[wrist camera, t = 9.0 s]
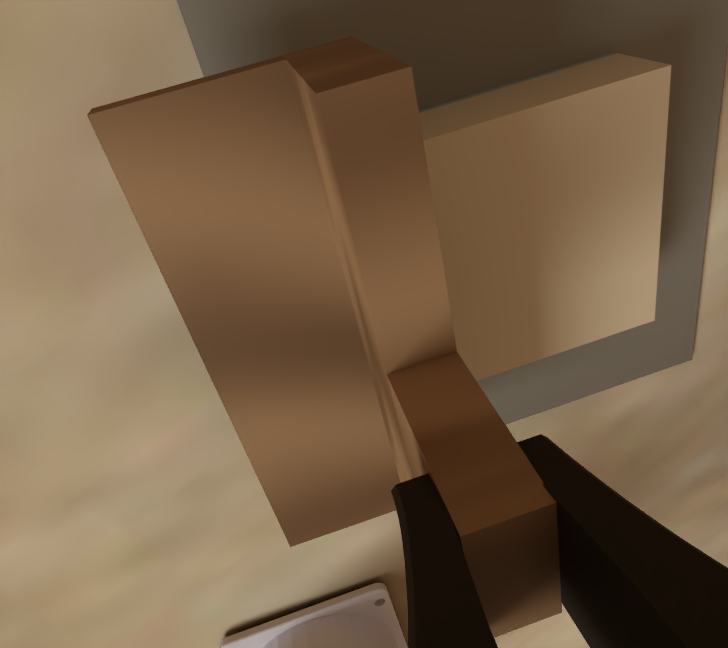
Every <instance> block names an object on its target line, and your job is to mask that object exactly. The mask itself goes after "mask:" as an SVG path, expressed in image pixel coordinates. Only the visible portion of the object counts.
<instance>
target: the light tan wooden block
mask: <svg viewBox="0 0 728 648" xmlns="http://www.w3.org/2000/svg"><path fill="white" fill-rule="evenodd" d="M670 79H671V65H669V64H665V63H660V62H656V61H651V60H647V59H642V58H638V57H633V56H629V55H624V54H620V53H615V52H613V53H610V54H606V55H603V56H600V57H596V58H593V59H590V60H586V61H583V62H580V63H576V64H573V65H570V66H566V67H563V68H560V69H556V70H553V71H550V72H546V73H543V74H540V75H536V76H533V77H530V78H527V79H523V80H520V81H517V82H513V83H510V84H507V85H503V86H500V87H497V88H493V89H490V90H487V91H483V92H480V93H477V94H473V95H470V96H467V97H463V98H460V99H457V100H453V101H450V102H447V103H443V104H440V105H437V106H433V107H430V108H427V109H424V110H420V111H419V117H420V123H421V129H422V136H423V142H424V148H425V154H426V161H427V167H428V173H429V179H430V186H431V192H432V198H433V204H434V211H435V217H436V223H437V229H438V236H439V242H440V248H441V254H442V261H443V267H444V273H445V279H446V286H447V292H448V298H449V304H450V311H451V317H452V323H453V329H454V336H455V342H456V348H457V352H458V354H459V355H460V357H461V358H462V360H463V361H464V363H465V364H466V366H467V368H468V369H469V371H470V372H471V374H472V375H473V377H474V378H475V380H476V381H478V380H481V379H484V378H487V377H490V376H493V375H496V374H499V373H502V372H505V371H508V370H511V369H514V368H516V367H519V366H522V365H525V364H528V363H531V362H534V361H537V360H540V359H543V358H546V357H549V356H552V355H555V354H558V353H561V352H563V351H566V350H569V349H572V348H575V347H578V346H581V345H584V344H587V343H590V342H593V341H596V340H599V339H602V338H605V337H608V336H611V335H613V334H616V333H619V332H622V331H625V330H628V329H631V328H634V327H637V326H640V325H643V324H646V323H649V322H652V321H655V307H656V292H657V276H658V261H659V246H660V231H661V216H662V200H663V185H664V170H665V155H666V140H667V125H668V109H669V94H670Z"/></svg>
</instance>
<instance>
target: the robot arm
mask: <svg viewBox="0 0 728 648" xmlns="http://www.w3.org/2000/svg"><path fill="white" fill-rule="evenodd" d="M517 443H518V445H519V446H520V448H521V449H522V451H523V452H524V454H525V455H526V457H527V458H528V460H529V461H530V463H531V465H532V466H533V468H534V469H535V471H536V472H537V474H538V475H539V477H540V478H541V480H542V481H543V483H544V484H542V485H543V486H544V487H545V488H546V490H547V491H548V492H549V493H550V495H551V496H552V497H553V498H554V500H555V501H556V502H557V523H558V543H559V563H560V584H561V602H562V604H563V605H564V607H565V609H566V610H567V612H568V613H569V615H570V616H571V618H572V620H573V621H574V623H575V624H576V626H577V628H578V629H579V631H580V632H581V634H582V636H583V637H584V639H585V640H586V642H587V643H588V645H589V647H590V648H728V568H727V567H725V566H724V565H722V564H721V563H719V562H717V561H716V560H714V559H713V558H711V557H710V556H708V555H706V554H705V553H703V552H702V551H700V550H699V549H697V548H696V547H694V546H693V545H691V544H689V543H688V542H686V541H685V540H683V539H682V538H680V537H679V536H677V535H676V534H674V533H673V532H671V531H670V530H668V529H667V528H666V527H664V526H663V525H661V524H660V523H658V522H657V521H656V520H654V519H653V518H651V517H650V516H648V515H647V514H646V513H644V512H643V511H641V510H640V509H639V508H637V507H636V506H634V505H633V504H632V503H630V502H629V501H627V500H626V499H625V498H623V497H622V496H621V495H619V494H618V493H617V492H615V491H614V490H612V489H611V488H610V487H609V486H607V485H606V484H605V483H603V482H602V481H601V480H599V479H598V478H597V477H595V476H594V475H593V474H592V473H590V472H589V471H588V470H586V469H585V468H584V467H583V466H581V465H580V464H579V463H578V462H576V461H575V460H574V459H573V458H571V457H570V456H569V455H568V454H566V453H565V452H564V451H563V450H562V449H560V448H559V447H558V446H557V445H556V444H554V443H553V442H552V441H551V440H550V439H548V438H547V437H545V436H543V435H541V434H540V435H537V436H535V437H532V438H529V439H526V440H523V441H520V442H517ZM391 493H392V496H393V500H394V503H395V507H396V510H397V514H398V518H399V523H400V528H401V534H402V542H403V550H404V558H405V570H406V585H407V600H408V647H407V644H406V641H405V638H404V635H403V633H402V630H401V627H400V624H399V621H398V619H397V616H396V613H395V610H394V607H393V605H392V602H391V599H390V596H389V593H388V591H387V588H386V586H385V584H382V583H374V584H371V585H368V586H366V587H363V588H360V589H357V590H355V591H352V592H349V593H346V594H344V595H341V596H338V597H335V598H332V599H330V600H327V601H324V602H321V603H319V604H316V605H313V606H310V607H308V608H305V609H302V610H299V611H297V612H294V613H291V614H288V615H286V616H283V617H280V618H277V619H275V620H272V621H269V622H266V623H264V624H261V625H258V626H255V627H253V628H250V629H247V630H244V631H242V632H239V633H236V634H233V635H231V636H228V637H226V638H224V639H222V640H221V641H220V643H219V648H498V647H497V644H496V642H495V639H494V637H493V634H492V632H491V629H490V627H489V624H488V621H487V618H486V616H485V613H484V610H483V607H482V604H481V601H480V599H479V596H478V593H477V590H476V587H475V584H474V582H473V579H472V576H471V573H470V570H469V567H468V564H467V562H466V559H465V556H464V553H463V550H462V547H461V545H460V542H459V539H458V536H457V533H456V530H455V528H454V525H453V522H452V519H451V516H450V514H449V512H448V510H447V508H446V506H445V504H444V502H443V500H442V498H441V496H440V494H439V492H438V490H437V488H436V486H435V484H434V483H433V481H432V479H431V477H430V475H429V473H427V474H425V475H422V476H419V477H416V478H413V479H410V480H407V481H404V482H401V483H399V484H396V485H395V486H394V488H393V489H392V490H391Z"/></svg>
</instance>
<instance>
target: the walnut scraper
mask: <svg viewBox="0 0 728 648" xmlns="http://www.w3.org/2000/svg"><path fill="white" fill-rule="evenodd" d="M87 116H88V118H89V120H90V122H91V125H92V127H93V129H94V131H95V133H96V135H97V137H98V139H99V141H100V144H101V146H102V148H103V150H104V152H105V154H106V156H107V158H108V161H109V163H110V165H111V167H112V169H113V171H114V173H115V175H116V178H117V180H118V182H119V184H120V186H121V188H122V190H123V192H124V195H125V197H126V199H127V201H128V203H129V205H130V207H131V209H132V212H133V214H134V216H135V218H136V220H137V222H138V224H139V226H140V228H141V231H142V233H143V235H144V237H145V239H146V241H147V243H148V245H149V248H150V250H151V252H152V254H153V256H154V258H155V260H156V262H157V265H158V267H159V269H160V271H161V273H162V275H163V277H164V279H165V282H166V284H167V286H168V288H169V290H170V292H171V294H172V296H173V299H174V301H175V303H176V305H177V307H178V309H179V311H180V313H181V315H182V318H183V320H184V322H185V324H186V326H187V328H188V330H189V332H190V335H191V337H192V339H193V341H194V343H195V345H196V347H197V349H198V352H199V354H200V356H201V358H202V360H203V362H204V364H205V366H206V369H207V371H208V373H209V375H210V377H211V379H212V381H213V383H214V386H215V388H216V390H217V392H218V394H219V396H220V398H221V400H222V402H223V405H224V407H225V409H226V411H227V413H228V415H229V417H230V419H231V422H232V424H233V426H234V428H235V430H236V432H237V434H238V436H239V439H240V441H241V443H242V445H243V447H244V449H245V451H246V453H247V456H248V458H249V460H250V462H251V464H252V466H253V468H254V470H255V473H256V475H257V477H258V479H259V481H260V483H261V485H262V487H263V490H264V492H265V494H266V496H267V498H268V500H269V502H270V504H271V506H272V509H273V511H274V513H275V515H276V517H277V519H278V521H279V523H280V526H281V528H282V530H283V532H284V534H285V536H286V538H287V540H288V543H289V545H290V547H292V546H295V545H297V544H300V543H303V542H306V541H309V540H312V539H315V538H318V537H320V536H323V535H326V534H329V533H332V532H335V531H338V530H341V529H343V528H346V527H349V526H352V525H355V524H358V523H361V522H364V521H366V520H369V519H372V518H375V517H378V516H381V515H384V514H387V513H389V512H392V511H395V510H396V507H395V503H394V500H393V496H392V493H391V490H392V489H393V488H394V486H395V485H396V484H399V483H401V482H404V481H407V480H410V479H413V478H416V477H419V476H422V475H425V474H427V473H429V475H430V477H431V479H432V481H433V483H434V484H435V486H436V488H437V490H438V492H439V494H440V496H441V498H442V500H443V502H444V504H445V506H446V508H447V510H448V512H449V514H450V516H451V519H452V522H453V525H454V528H455V530H456V533H457V536H458V539H459V542H460V545H461V547H462V550H463V553H464V556H465V559H466V562H467V564H468V567H469V570H470V573H471V576H472V579H473V582H474V584H475V587H476V590H477V593H478V596H479V599H480V601H481V604H482V607H483V610H484V613H485V616H486V618H487V621H488V624H489V627H490V629H491V632H492V634H493V637H497V636H500V635H502V634H505V633H508V632H510V631H513V630H516V629H518V628H521V627H524V626H526V625H529V624H532V623H535V622H537V621H540V620H543V619H545V618H548V617H551V616H553V615H556V614H559V613H562V604H561V584H560V563H559V543H558V523H557V502H556V501H555V500H554V498H553V497H552V496H551V495H550V493H549V492H548V491H547V490H546V488H545V487H544V486H543V485H542V484H544V483H543V481H542V480H541V478H540V477H539V475H538V474H537V472H536V471H535V469H534V468H533V466H532V465H531V463H530V461H529V460H528V458H527V457H526V455H525V454H524V452H523V451H522V449H521V448H520V446H519V445H518V443H517V442H516V440H515V439H514V437H513V436H512V434H511V433H510V431H509V430H508V428H507V427H506V425H505V424H504V422H503V421H502V419H501V418H500V416H499V414H498V413H497V411H496V410H495V408H494V407H493V405H492V404H491V402H490V401H489V399H488V398H487V396H486V395H485V393H484V392H483V390H482V389H481V387H480V386H479V384H478V383H477V381H476V380H475V378H474V377H473V375H472V374H471V372H470V371H469V369H468V368H467V366H466V364H465V363H464V361H463V360H462V358H461V357H460V355H459V354H458V352H457V348H456V342H455V336H454V329H453V323H452V317H451V311H450V304H449V298H448V292H447V286H446V279H445V273H444V267H443V261H442V254H441V248H440V242H439V236H438V229H437V223H436V217H435V211H434V204H433V198H432V192H431V186H430V179H429V173H428V167H427V161H426V154H425V148H424V142H423V136H422V129H421V123H420V117H419V110H418V104H417V98H416V92H415V85H414V79H413V73H412V67H411V66H410V65H408V64H406V63H404V62H402V61H400V60H398V59H396V58H394V57H392V56H390V55H388V54H386V53H384V52H382V51H380V50H378V49H376V48H374V47H372V46H370V45H368V44H366V43H364V42H362V41H360V40H358V39H356V38H354V37H352V36H350V37H347V38H343V39H339V40H336V41H332V42H329V43H325V44H322V45H318V46H314V47H311V48H307V49H304V50H300V51H296V52H293V53H289V54H286V55H282V56H279V57H275V58H271V59H268V60H264V61H261V62H257V63H254V64H250V65H246V66H243V67H239V68H236V69H232V70H229V71H225V72H221V73H218V74H214V75H211V76H207V77H204V78H200V79H196V80H193V81H189V82H186V83H182V84H178V85H175V86H171V87H168V88H164V89H161V90H157V91H153V92H150V93H146V94H143V95H139V96H136V97H132V98H128V99H125V100H121V101H118V102H114V103H111V104H107V105H103V106H100V107H96V108H93V109H91V111H90V112H89V113H88V115H87Z"/></svg>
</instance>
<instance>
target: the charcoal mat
mask: <svg viewBox="0 0 728 648" xmlns="http://www.w3.org/2000/svg"><path fill="white" fill-rule="evenodd" d="M177 2H178V5H179V7H180V10H181V13H182V16H183V19H184V21H185V24H186V27H187V30H188V33H189V35H190V38H191V41H192V44H193V47H194V49H195V52H196V55H197V58H198V61H199V63H200V66H201V69H202V72H203V75H204V77H207V76H211V75H214V74H218V73H221V72H225V71H229V70H232V69H236V68H239V67H243V66H246V65H250V64H254V63H257V62H261V61H264V60H268V59H271V58H275V57H279V56H282V55H286V54H289V53H293V52H296V51H300V50H304V49H307V48H311V47H314V46H318V45H322V44H325V43H329V42H332V41H336V40H339V39H343V38H347V37H350V36H352V37H354V38H356V39H358V40H360V41H362V42H364V43H366V44H368V45H370V46H372V47H374V48H376V49H378V50H380V51H382V52H384V53H386V54H388V55H390V56H392V57H394V58H396V59H398V60H400V61H402V62H404V63H406V64H408V65H410V66H411V67H412V73H413V79H414V85H415V92H416V98H417V104H418V110H419V111H420V110H424V109H427V108H430V107H433V106H437V105H440V104H443V103H447V102H450V101H453V100H457V99H460V98H463V97H467V96H470V95H473V94H477V93H480V92H483V91H487V90H490V89H493V88H497V87H500V86H503V85H507V84H510V83H513V82H517V81H520V80H523V79H527V78H530V77H533V76H536V75H540V74H543V73H546V72H550V71H553V70H556V69H560V68H563V67H566V66H570V65H573V64H576V63H580V62H583V61H586V60H590V59H593V58H596V57H600V56H603V55H606V54H610V53H613V52H615V53H620V54H624V55H629V56H633V57H638V58H642V59H647V60H651V61H656V62H660V63H665V64H669V65H671V79H670V94H669V109H668V125H667V140H666V155H665V170H664V185H663V200H662V216H661V231H660V246H659V261H658V276H657V292H656V307H655V321H652V322H649V323H646V324H643V325H640V326H637V327H634V328H631V329H628V330H625V331H622V332H619V333H616V334H613V335H611V336H608V337H605V338H602V339H599V340H596V341H593V342H590V343H587V344H584V345H581V346H578V347H575V348H572V349H569V350H566V351H563V352H561V353H558V354H555V355H552V356H549V357H546V358H543V359H540V360H537V361H534V362H531V363H528V364H525V365H522V366H519V367H516V368H514V369H511V370H508V371H505V372H502V373H499V374H496V375H493V376H490V377H487V378H484V379H481V380H478V381H477V383H478V384H479V386H480V387H481V389H482V390H483V392H484V393H485V395H486V396H487V398H488V399H489V401H490V402H491V404H492V405H493V407H494V408H495V410H496V411H497V413H498V414H499V416H500V418H501V419H502V421H503V422H504V424H508V423H511V422H514V421H517V420H520V419H522V418H525V417H528V416H531V415H534V414H537V413H540V412H543V411H545V410H548V409H551V408H554V407H557V406H560V405H563V404H566V403H568V402H571V401H574V400H577V399H580V398H583V397H586V396H588V395H591V394H594V393H597V392H600V391H603V390H606V389H609V388H611V387H614V386H617V385H620V384H623V383H626V382H629V381H632V380H634V379H637V378H640V377H643V376H646V375H649V374H652V373H655V372H657V371H660V370H663V369H666V368H669V367H672V366H675V365H678V364H680V363H683V362H686V361H689V360H692V355H693V346H694V338H695V329H696V320H697V311H698V302H699V294H700V285H701V276H702V267H703V258H704V250H705V241H706V232H707V223H708V214H709V206H710V197H711V188H712V179H713V170H714V162H715V153H716V144H717V135H718V126H719V118H720V109H721V100H722V91H723V82H724V74H725V65H726V56H727V47H728V0H177Z"/></svg>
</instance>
